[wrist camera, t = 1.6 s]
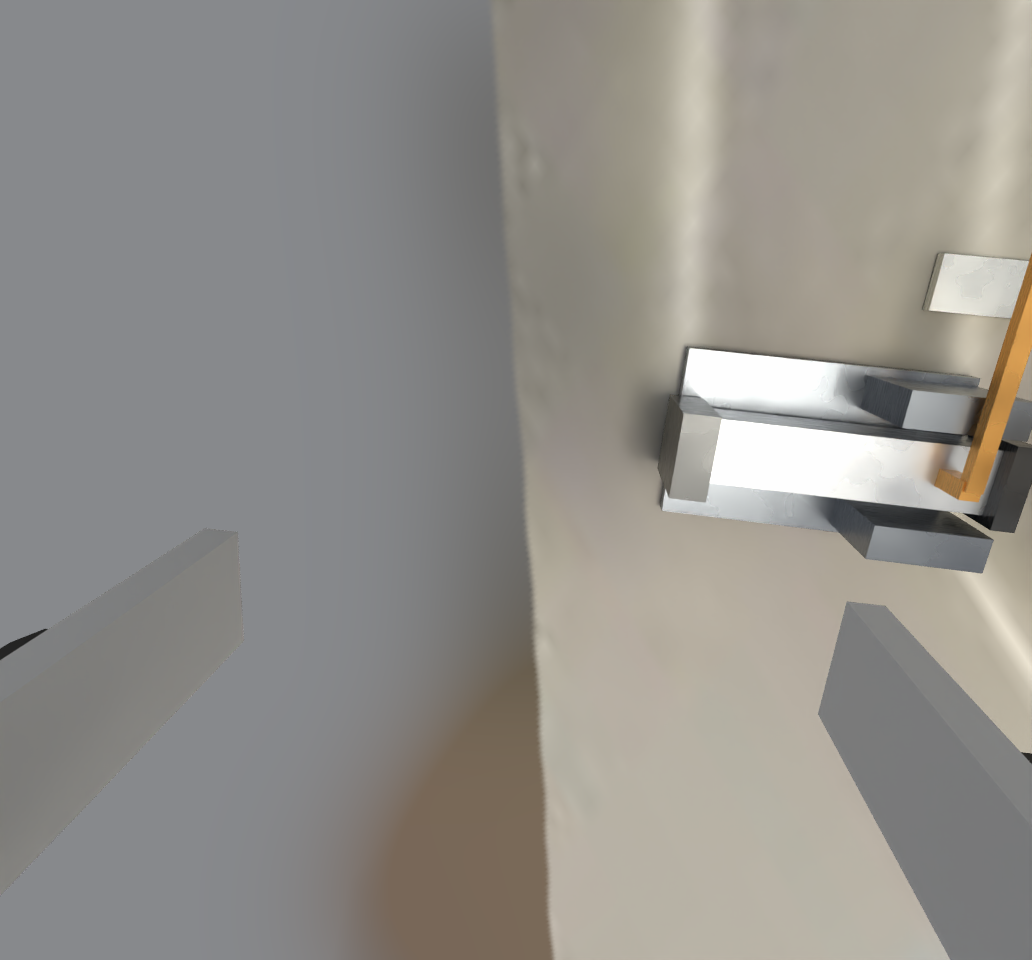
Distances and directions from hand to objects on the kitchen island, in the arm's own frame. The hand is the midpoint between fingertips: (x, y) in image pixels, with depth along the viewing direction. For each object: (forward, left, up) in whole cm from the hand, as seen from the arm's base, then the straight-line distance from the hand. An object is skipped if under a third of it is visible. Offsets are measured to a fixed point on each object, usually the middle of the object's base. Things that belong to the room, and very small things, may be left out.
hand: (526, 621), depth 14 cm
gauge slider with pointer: (-4, +13, -20) cm, 24 cm away
